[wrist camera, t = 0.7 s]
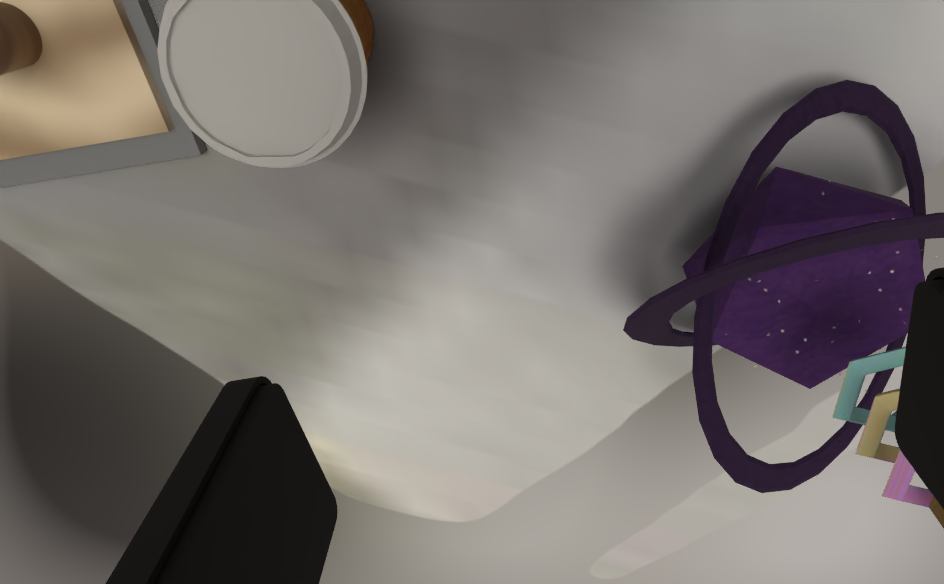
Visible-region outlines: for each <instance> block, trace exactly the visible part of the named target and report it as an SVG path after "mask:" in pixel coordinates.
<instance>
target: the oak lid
mask: <svg viewBox="0 0 944 584" xmlns="http://www.w3.org/2000/svg"><path fill="white" fill-rule="evenodd" d="M173 128H174V125H173V123H172V121H171V118H170V116H169V114H168V111H167V109H166V106H165V104H164V102H163V99H162V97H161V95H160V92H159V90H158V88H157V85H156V83H155V80H154V78H153V76H152V73H151V71H150V69H149V66H148V64H147V61H146V59H145V57H144V54H143V52H142V50H141V47H140V45H139V42H138V40H137V38H136V35H135V33H134V31H133V28H132V26H131V24H130V21H129V19H128V16H127V14H126V12H125V9H124V7H123V5H122V2H121V0H0V160H4V159H10V158H16V157H22V156H28V155H33V154H39V153H45V152H51V151H57V150H63V149H69V148H75V147H81V146H87V145H92V144H98V143H104V142H110V141H116V140H122V139H128V138H134V137H140V136H146V135H152V134H157V133H163V132H169V131H170V130H172V129H173Z"/></svg>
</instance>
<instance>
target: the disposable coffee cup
mask: <svg viewBox="0 0 944 584" xmlns="http://www.w3.org/2000/svg"><path fill="white" fill-rule="evenodd" d="M373 41H374V29H373V22H372V18H371V14H370V12H369V9H368V7H367V5H366V3H365V2H364V0H168V1H167V4H166V6H165V9H164V13H163V17H162V21H161V24H160V30H159V39H158V48H157V52H158V59H159V66H160V73H161V78H162V81H163V83H164V85H165V88H166V90H167V92H168V95H169V97H170V100H171V102H172V104H173V106H174V107H175V109H176V110H177V112H178V113H179V114H180V116H181V117H182V118H183V120H184V121H185V122H186V124H187V125H188V126H189V128H190V129H191V130H192V131H193V132H194V133H195V134H196V135H198V136H199V137H200V138H201V139H202V140H203V141H204V142H206V143H207V144H208V145H209V146H211V147H212V148H214V149H215V150H217V151H219V152H220V153H222V154H224V155H225V156H228V157H230V158H233V159H235V160H238V161H240V162H243V163H247V164H250V165H253V166H262V167H274V168H290V167H297V166H303V165H307V164H310V163H314V162H316V161H318V160H320V159H322V158H324V157H326V156H327V155H329V154H330V153H332V152H333V151H335V150H336V149H337V148H339V147H340V145H341V144H342V143H343V142H344V141H345V140H346V139H347V138H348V137H349V136H350V134H351V132H352V131H353V129H354V127H355V126H356V124H357V122H358V121H359V119H360V116H361V114H362V111H363V107H364V103H365V99H366V93H367V65H368V61H369V58H370V54H371V51H372V48H373Z"/></svg>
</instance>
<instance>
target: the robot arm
mask: <svg viewBox="0 0 944 584" xmlns="http://www.w3.org/2000/svg"><path fill="white" fill-rule="evenodd" d="M895 436H896V440H897V443H898V445H899V448H900V450H901V452H902V453H903V455H904V456H905V458H906V459H907V460H908V462H909V463H910V464H911V466H912V467H913V468H914V470H915V471H916V473H917V474H918V475H919V477H920V478H921V479H922V481H923V482H924V483H925V485H926V486H927V487H928V489H929V490H930V492H931V493H932V494H933V496H934V497H935V498H936V500H937V501H938V503H939V504H940V505H941V507H942V508H943V509H944V268H938V269H935V270H933V271H931V272H930V274H929V275H928V276H927V279H926V281H924V282H920V283H918V284H917V286H916V287H915V290H914V294H913V301H912V308H911V315H910V322H909V329H908V336H907V344H906V351H905V358H904V365H903V372H902V379H901V386H900V393H899V400H898V407H897V414H896V421H895ZM336 520H337V504H336V499H335V497H334V494H333V492H332V490H331V488H330V486H329V484H328V482H327V480H326V478H325V475H324V473H323V471H322V469H321V467H320V465H319V463H318V461H317V459H316V457H315V455H314V453H313V451H312V448H311V446H310V444H309V442H308V440H307V438H306V436H305V434H304V432H303V430H302V428H301V426H300V423H299V421H298V419H297V417H296V415H295V413H294V411H293V409H292V407H291V405H290V403H289V401H288V399H287V396H286V394H285V392H284V390H283V389H282V387H281V386H280V385H279V384H276V383H274V384H272V383H271V381H270V380H269V379H268V378H266V377H263V376H260V377H254V378H248V379H242V380H235V381H230V382H228V383H226V385H225V386H224V387H223V388H222V390H221V392H220V394H219V395H218V397H217V399H216V400H215V402H214V404H213V405H212V407H211V409H210V410H209V412H208V414H207V415H206V417H205V419H204V420H203V422H202V424H201V425H200V427H199V429H198V430H197V432H196V434H195V435H194V437H193V439H192V441H191V442H190V444H189V445H188V447H187V449H186V450H185V452H184V454H183V456H182V457H181V459H180V460H179V462H178V464H177V465H176V467H175V469H174V470H173V472H172V474H171V475H170V477H169V479H168V480H167V482H166V484H165V485H164V487H163V489H162V490H161V492H160V494H159V496H158V497H157V499H156V501H155V502H154V504H153V506H152V507H151V509H150V511H149V512H148V514H147V515H146V517H145V519H144V521H143V522H142V524H141V526H140V527H139V529H138V531H137V532H136V534H135V536H134V537H133V539H132V541H131V542H130V544H129V546H128V547H127V549H126V551H125V552H124V554H123V556H122V557H121V559H120V561H119V562H118V564H117V566H116V567H115V569H114V571H113V572H112V574H111V576H110V577H109V579H108V581H107V582H106V584H319V581H320V577H321V574H322V570H323V566H324V563H325V560H326V556H327V552H328V549H329V545H330V541H331V538H332V534H333V531H334V527H335V523H336Z"/></svg>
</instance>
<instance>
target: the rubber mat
mask: <svg viewBox="0 0 944 584" xmlns="http://www.w3.org/2000/svg"><path fill="white" fill-rule="evenodd" d="M121 2H122V5H123V7H124V9H125V12H126V14H127V16H128V19H129V21H130V24H131V26H132V28H133V31H134V33H135V35H136V38H137V40H138V42H139V45H140V47H141V50H142V52H143V54H144V57H145V59H146V61H147V64H148V66H149V69H150V71H151V73H152V76H153V78H154V80H155V83H156V85H157V88H158V90H159V92H160V95H161V97H162V99H163V102H164V104H165V106H166V109H167V111H168V114H169V116H170V118H171V121H172V123H173V125H174V128H173V129H172V130H170V131H169V132H163V133H157V134H152V135H146V136H140V137H134V138H128V139H122V140H116V141H110V142H104V143H98V144H92V145H87V146H81V147H75V148H69V149H63V150H57V151H51V152H45V153H39V154H33V155H28V156H22V157H16V158H10V159H4V160H0V188H1V187H7V186H13V185H20V184H26V183H32V182H38V181H44V180H50V179H56V178H63V177H69V176H75V175H81V174H87V173H93V172H99V171H106V170H112V169H118V168H124V167H130V166H136V165H142V164H149V163H155V162H161V161H167V160H173V159H179V158H185V157H192V156H198V155H202V154H203V153H204V152H205V151H206V150H207V148H206V146H205V144H204V141H203V140H202V139H201V138H200V137H199V136H198V135H196V134H195V133H194V132H193V131H192V130H191V129H190V128H189V126H188V125H187V124H186V122H185V121H184V120H183V118H182V117H181V116H180V114H179V113H178V112H177V110H176V109H175V107H174V106H173V104H172V102H171V100H170V97H169V95H168V92H167V90H166V88H165V85H164V83H163V81H162V78H161V73H160V66H159V59H158V52H157V48H158V39H159V29H158V27H157V24H156V22H155V19H154V17H153V14H152V12H151V9H150V7H149V4H148V2H147V0H121Z"/></svg>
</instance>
